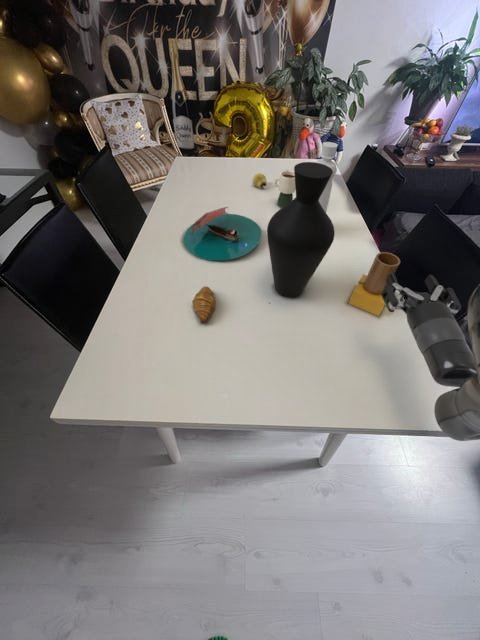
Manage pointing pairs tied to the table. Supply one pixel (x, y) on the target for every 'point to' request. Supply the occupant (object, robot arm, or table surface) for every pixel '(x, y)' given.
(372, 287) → the cup
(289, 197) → the character mug
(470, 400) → the robot arm
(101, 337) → the table surface
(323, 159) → the bottle
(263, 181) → the fruit
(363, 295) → the box
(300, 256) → the vase
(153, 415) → the table surface
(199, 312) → the croissant
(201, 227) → the boat on round base
